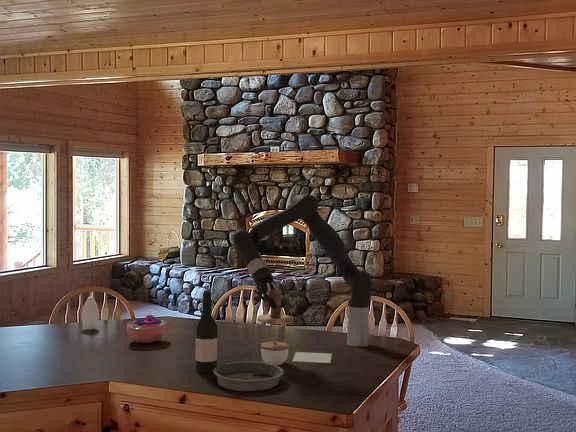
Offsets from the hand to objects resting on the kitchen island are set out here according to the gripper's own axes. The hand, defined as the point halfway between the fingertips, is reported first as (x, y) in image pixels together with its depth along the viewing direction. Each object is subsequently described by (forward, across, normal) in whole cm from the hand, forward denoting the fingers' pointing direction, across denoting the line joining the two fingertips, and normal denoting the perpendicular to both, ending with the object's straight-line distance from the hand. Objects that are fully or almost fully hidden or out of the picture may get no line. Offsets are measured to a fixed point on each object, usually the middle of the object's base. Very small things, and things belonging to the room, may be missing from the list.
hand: (279, 307), depth 257 cm
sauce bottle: (-56, -25, +90) cm, 109 cm away
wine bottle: (+8, -26, +24) cm, 36 cm away
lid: (+3, 0, +5) cm, 6 cm away
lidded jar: (+15, 0, +17) cm, 23 cm away
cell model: (-29, -18, +63) cm, 71 cm away
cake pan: (+24, -23, +9) cm, 34 cm away
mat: (+17, +18, +15) cm, 29 cm away
